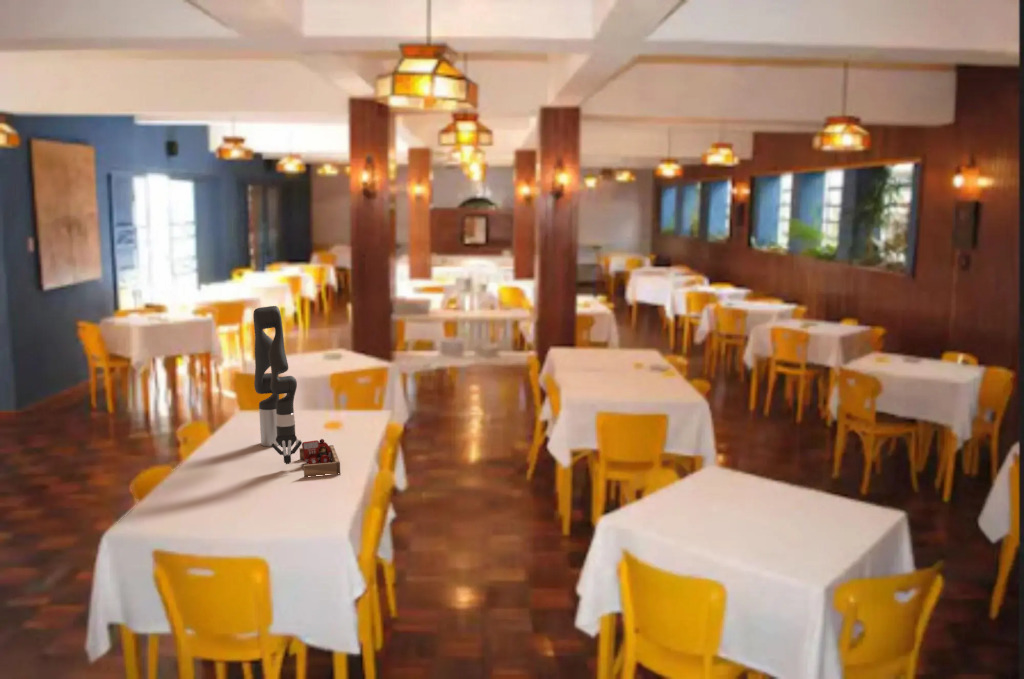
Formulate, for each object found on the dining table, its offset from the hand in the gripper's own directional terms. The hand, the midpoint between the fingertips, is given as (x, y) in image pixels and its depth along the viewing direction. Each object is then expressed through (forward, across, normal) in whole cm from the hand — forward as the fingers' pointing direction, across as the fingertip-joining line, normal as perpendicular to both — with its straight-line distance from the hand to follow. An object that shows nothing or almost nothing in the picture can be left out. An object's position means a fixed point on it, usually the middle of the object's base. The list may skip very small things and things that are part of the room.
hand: (287, 463), depth 381 cm
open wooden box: (+2, -13, 0) cm, 13 cm away
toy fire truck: (+3, -13, -5) cm, 14 cm away
